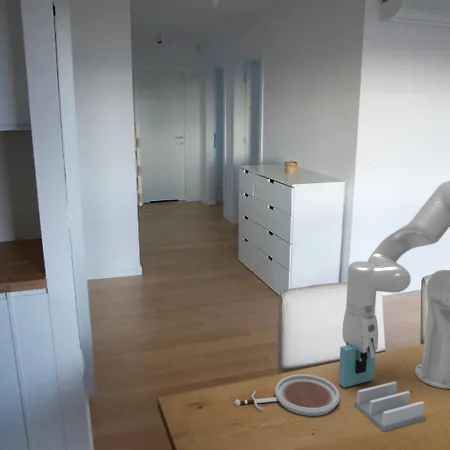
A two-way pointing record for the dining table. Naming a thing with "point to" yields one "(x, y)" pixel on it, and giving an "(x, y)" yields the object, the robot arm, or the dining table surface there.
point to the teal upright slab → (353, 367)
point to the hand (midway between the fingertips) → (357, 369)
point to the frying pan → (302, 395)
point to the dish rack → (389, 406)
